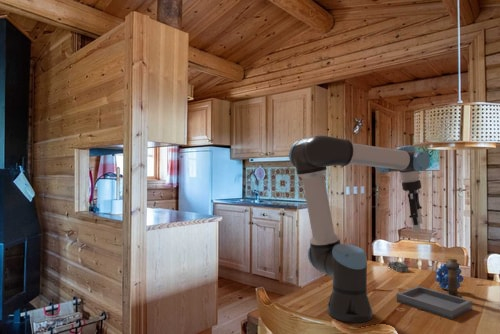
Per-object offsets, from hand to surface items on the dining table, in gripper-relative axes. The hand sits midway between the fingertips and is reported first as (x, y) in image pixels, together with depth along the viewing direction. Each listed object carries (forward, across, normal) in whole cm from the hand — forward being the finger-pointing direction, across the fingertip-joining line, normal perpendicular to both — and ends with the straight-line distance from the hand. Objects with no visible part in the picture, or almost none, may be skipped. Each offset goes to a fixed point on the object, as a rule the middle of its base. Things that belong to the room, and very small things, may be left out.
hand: (418, 227), depth 145 cm
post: (+26, -11, -9) cm, 30 cm away
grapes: (+28, -1, -8) cm, 29 cm away
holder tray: (+24, -23, -3) cm, 33 cm away
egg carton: (+29, +23, +15) cm, 40 cm away
